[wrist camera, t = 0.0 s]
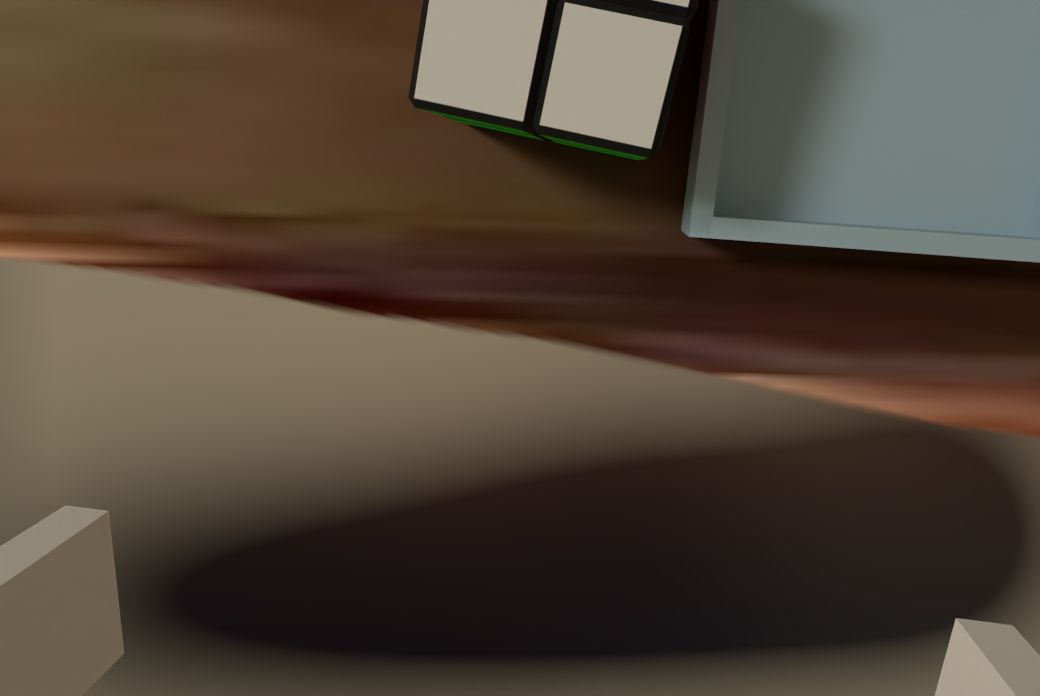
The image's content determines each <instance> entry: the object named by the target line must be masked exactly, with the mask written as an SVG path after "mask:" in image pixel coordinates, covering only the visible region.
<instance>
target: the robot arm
mask: <svg viewBox="0 0 1040 696" xmlns="http://www.w3.org/2000/svg"><path fill="white" fill-rule="evenodd" d="M123 654H124V647H123V638H122V629H121V621H120V612H119V602H118V592H117V583H116V574H115V565H114V556H113V547H112V539H111V528H110V519H109V511H104V510H97V509H88V508H80V507H73V506H64V507H62V508H61V509H59V510H58V511H56V512H54V513H53V514H51V515H50V516H48V517H46V518H45V519H43V520H42V521H40V522H39V523H37V524H36V525H34V526H32V527H30V528H29V529H27V530H26V531H24V532H22V533H21V534H19V535H18V536H16V537H14V538H13V539H11V540H10V541H8V542H6V543H5V544H3V545H2V546H0V696H82V695H83V694H84V693H85V692H86V691H87V690H88V689H89V688H90V687H91V686H92V685H93V684H94V683H95V682H96V681H97V680H98V679H99V678H100V677H101V676H102V675H103V674H104V673H105V672H106V671H107V670H108V669H109V668H110V667H111V666H112V665H113V664H114V663H115V662H116V661H117V660H118V659H119V658H120V657H121V656H122V655H123ZM935 696H1040V656H1039V655H1038V654H1037V652H1036V651H1035V650H1034V649H1033V648H1032V647H1031V646H1030V644H1029V643H1028V642H1027V641H1026V640H1025V639H1024V638H1023V637H1022V636H1021V634H1020V633H1019V632H1018V631H1017V630H1016V629H1015V627H1014V626H1012V625H1005V624H997V623H990V622H982V621H974V620H966V619H958V618H956V620H955V624H954V627H953V631H952V634H951V638H950V642H949V645H948V649H947V653H946V656H945V660H944V664H943V667H942V671H941V675H940V679H939V682H938V686H937V690H936V693H935Z"/></svg>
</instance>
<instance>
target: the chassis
mask: <svg viewBox="0 0 1040 696" xmlns="http://www.w3.org/2000/svg"><path fill="white" fill-rule="evenodd" d="M681 231H683V232H684V233H685V234H686V235H687V236H688V237H700V238H713V239H727V240H740V241H754V242H767V243H781V244H795V245H808V246H822V247H835V248H849V249H863V250H876V251H890V252H903V253H917V254H931V255H944V256H958V257H971V258H985V259H998V260H1012V261H1026V262H1039V263H1040V0H709V8H708V16H707V24H706V32H705V40H704V48H703V56H702V64H701V72H700V80H699V89H698V97H697V105H696V113H695V121H694V129H693V137H692V145H691V153H690V161H689V169H688V178H687V186H686V194H685V202H684V210H683V218H682V226H681Z"/></svg>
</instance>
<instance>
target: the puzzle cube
mask: <svg viewBox="0 0 1040 696" xmlns="http://www.w3.org/2000/svg"><path fill="white" fill-rule="evenodd" d="M698 1H699V0H423V6H422V13H421V19H420V26H419V32H418V39H417V45H416V52H415V58H414V65H413V71H412V78H411V85H410V91H409V99H410V100H411V102H412V104H413V105H414V107H415V108H418V109H421V110H425V111H428V112H431V113H434V114H438V115H441V116H444V117H446V118H449V119H452V120H455V121H458V122H461V123H465V124H469V125H474V126H479V127H483V128H488V129H493V130H497V131H502V132H506V133H511V134H516V135H520V136H525V137H530V138H534V139H539V140H544V141H545V140H546V139H547V138H548V139H549V140H551V141H553V142H556V143H559V144H564V145H569V146H573V147H578V148H583V149H587V150H592V151H597V152H601V153H606V154H611V155H615V156H620V157H625V158H629V159H634V160H638V161H639V160H643V159H647V158H650V157H651V156H653V155H654V154H656V153H658V152H659V150H660V146H661V142H662V138H663V134H664V130H665V126H666V123H667V119H668V115H669V111H670V107H671V103H672V99H673V95H674V91H675V88H676V84H677V80H678V76H679V72H680V68H681V64H682V60H683V56H684V53H685V49H686V45H687V41H688V37H689V33H690V28H689V26H688V24H689V22H690V21H691V19H692V17H693V15H694V14H695V12H696V9H697V5H698Z"/></svg>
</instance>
